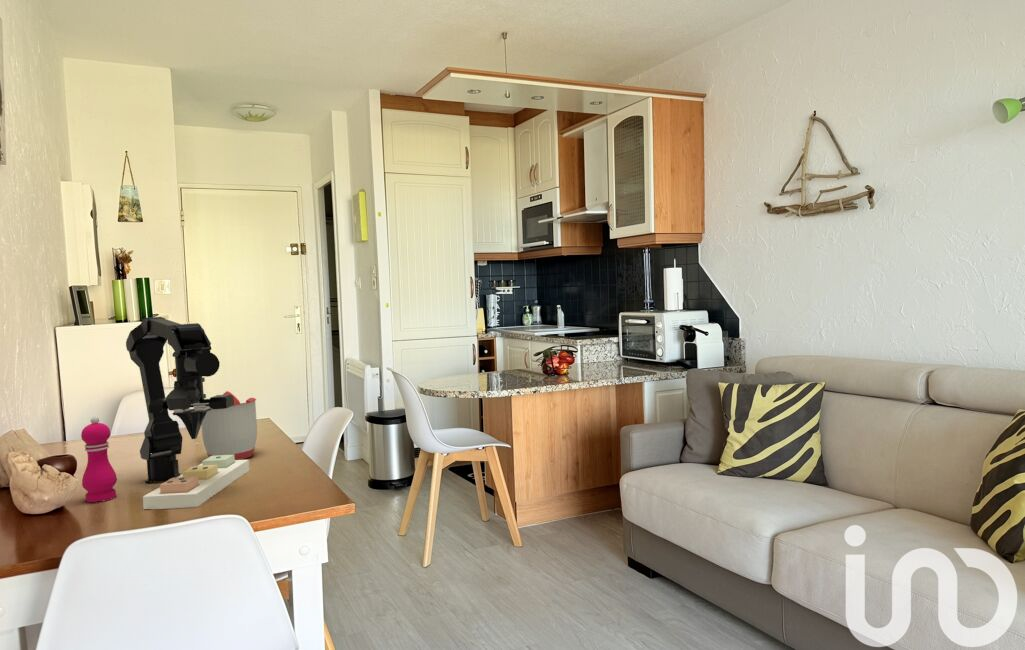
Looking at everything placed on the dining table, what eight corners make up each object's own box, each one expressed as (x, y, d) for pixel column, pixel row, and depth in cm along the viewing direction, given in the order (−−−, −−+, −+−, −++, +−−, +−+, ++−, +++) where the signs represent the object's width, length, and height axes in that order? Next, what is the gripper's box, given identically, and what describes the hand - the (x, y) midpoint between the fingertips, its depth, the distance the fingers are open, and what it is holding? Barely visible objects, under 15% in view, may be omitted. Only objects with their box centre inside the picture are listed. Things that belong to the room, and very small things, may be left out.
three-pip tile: (160, 494, 157) (159, 483, 157) (173, 487, 163) (172, 476, 163) (186, 493, 157) (186, 482, 157) (198, 486, 163) (197, 475, 163)
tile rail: (143, 509, 155) (142, 496, 155) (205, 472, 187) (204, 461, 187) (197, 507, 155) (196, 494, 155) (249, 470, 187) (248, 459, 187)
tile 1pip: (202, 469, 179) (202, 460, 179) (212, 464, 185) (211, 454, 185) (225, 468, 179) (225, 459, 179) (234, 462, 185) (234, 453, 185)
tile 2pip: (183, 481, 168) (182, 471, 168) (194, 475, 174) (193, 465, 174) (207, 480, 168) (206, 470, 168) (217, 473, 174) (217, 464, 174)
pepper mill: (93, 505, 161) (86, 420, 160) (77, 501, 165) (70, 418, 164) (124, 496, 167) (117, 415, 166) (108, 493, 171) (102, 413, 170)
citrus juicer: (272, 450, 211) (268, 385, 210) (241, 465, 194) (236, 394, 193) (226, 450, 214) (222, 387, 213) (191, 465, 197) (186, 395, 196)
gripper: (133, 381, 159) (138, 448, 160) (214, 376, 160) (219, 443, 160) (156, 376, 170) (161, 438, 171) (232, 371, 171) (237, 433, 171)
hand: (194, 438), depth 168 cm, fingers closed
